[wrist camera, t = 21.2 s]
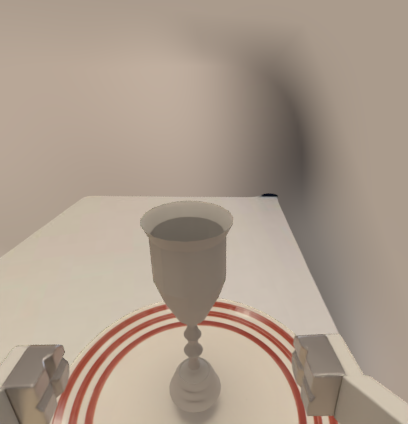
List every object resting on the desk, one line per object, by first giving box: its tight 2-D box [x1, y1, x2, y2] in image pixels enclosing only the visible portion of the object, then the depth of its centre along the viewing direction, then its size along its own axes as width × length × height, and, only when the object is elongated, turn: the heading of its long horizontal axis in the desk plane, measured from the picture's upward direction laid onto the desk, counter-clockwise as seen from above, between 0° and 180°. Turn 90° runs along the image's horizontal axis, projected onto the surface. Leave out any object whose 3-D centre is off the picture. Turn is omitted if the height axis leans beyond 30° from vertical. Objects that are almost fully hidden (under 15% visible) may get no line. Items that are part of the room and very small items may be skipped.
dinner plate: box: [49, 298, 339, 424], centre depth 29 cm, size 28×27×3 cm
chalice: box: [140, 201, 233, 413], centre depth 25 cm, size 7×7×18 cm
